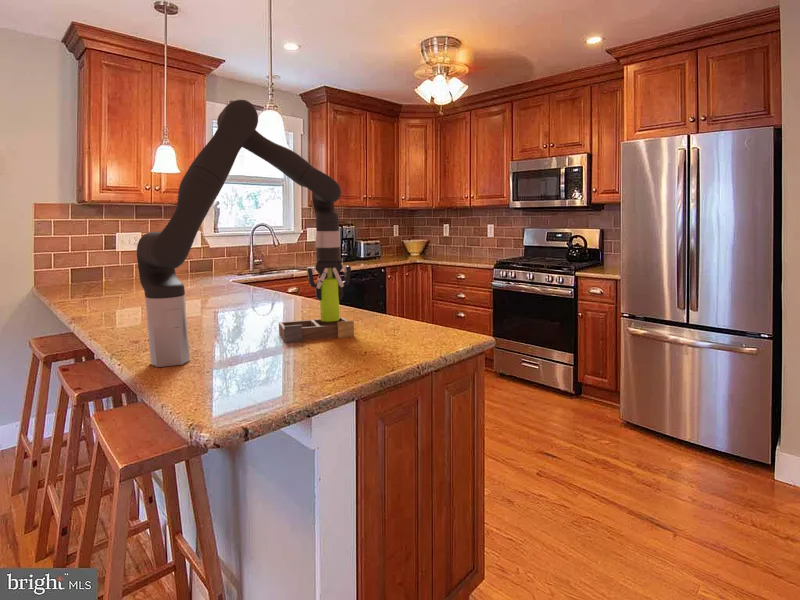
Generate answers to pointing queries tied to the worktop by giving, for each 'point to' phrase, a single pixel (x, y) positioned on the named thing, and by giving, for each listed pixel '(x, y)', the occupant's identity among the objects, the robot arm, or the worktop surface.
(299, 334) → the dock
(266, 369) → the worktop surface
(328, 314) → the soap dispenser
